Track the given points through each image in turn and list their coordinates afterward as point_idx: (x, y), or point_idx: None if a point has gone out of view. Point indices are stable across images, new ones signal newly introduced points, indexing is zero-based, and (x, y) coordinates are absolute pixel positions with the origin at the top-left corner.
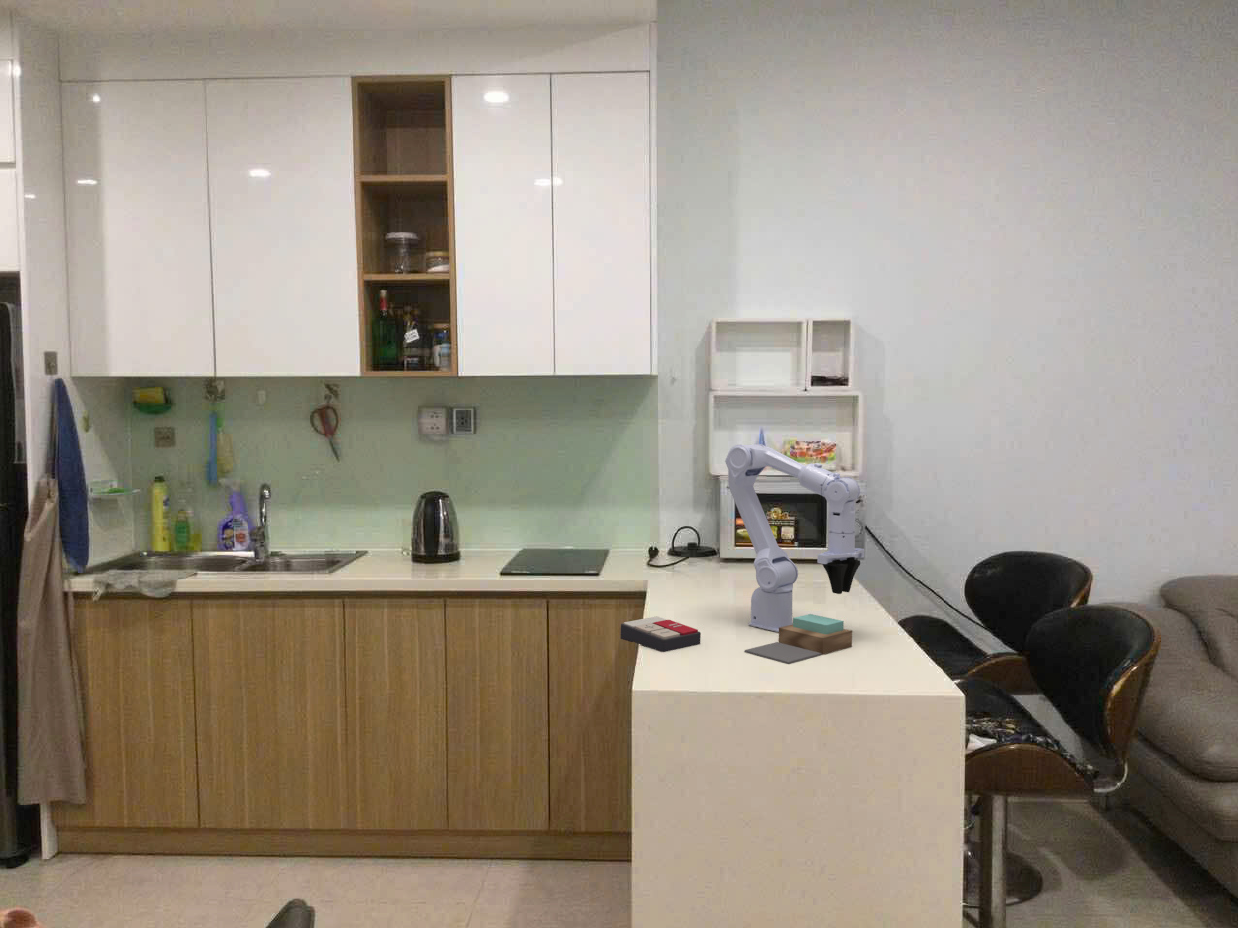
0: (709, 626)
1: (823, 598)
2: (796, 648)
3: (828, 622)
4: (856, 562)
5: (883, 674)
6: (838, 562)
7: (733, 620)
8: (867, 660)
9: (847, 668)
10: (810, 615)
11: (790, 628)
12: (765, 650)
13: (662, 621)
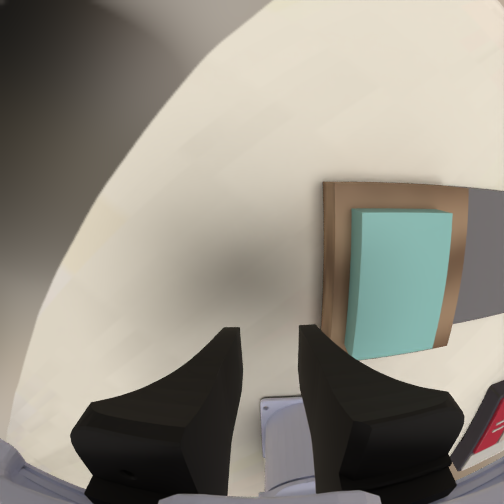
0: None
1: (63, 451)
2: None
3: (419, 235)
4: (156, 433)
5: (437, 12)
6: (381, 488)
7: None
8: (397, 74)
9: (470, 82)
10: (372, 344)
11: (439, 323)
12: (496, 286)
13: (487, 446)
